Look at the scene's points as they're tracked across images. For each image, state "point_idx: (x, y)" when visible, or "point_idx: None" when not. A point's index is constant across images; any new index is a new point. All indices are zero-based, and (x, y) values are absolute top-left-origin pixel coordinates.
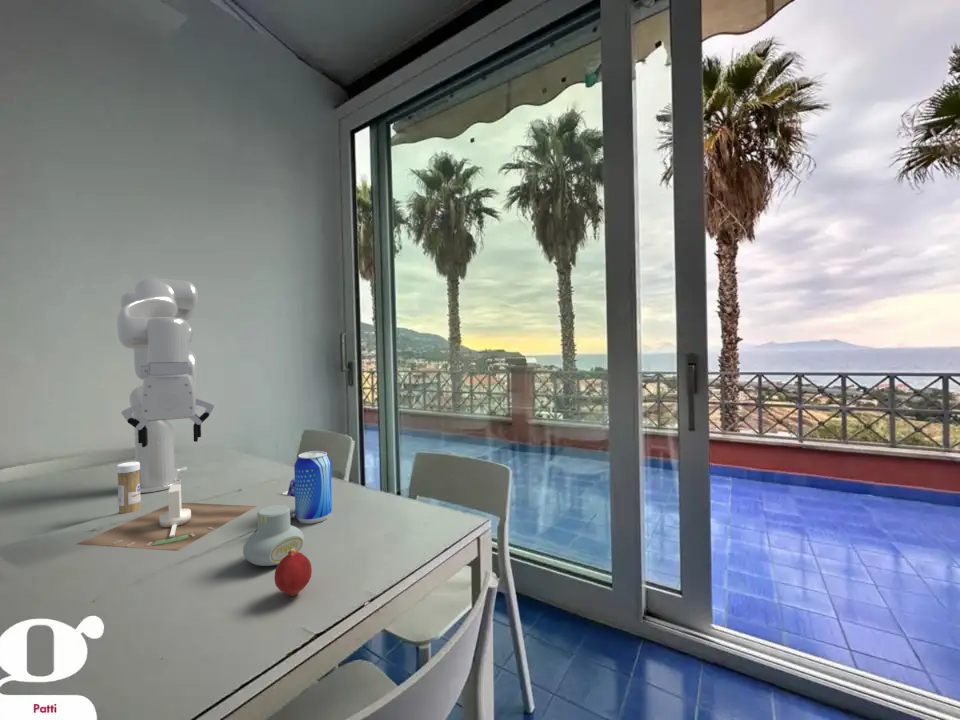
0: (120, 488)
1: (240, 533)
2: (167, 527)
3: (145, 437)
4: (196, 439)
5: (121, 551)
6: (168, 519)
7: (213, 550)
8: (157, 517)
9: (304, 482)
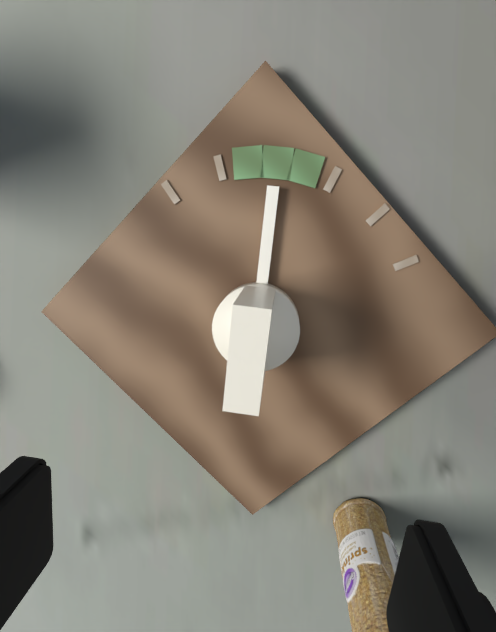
0: None
1: (103, 150)
2: None
3: (446, 606)
4: (17, 465)
5: None
6: (276, 291)
7: (177, 58)
8: (300, 409)
9: None
